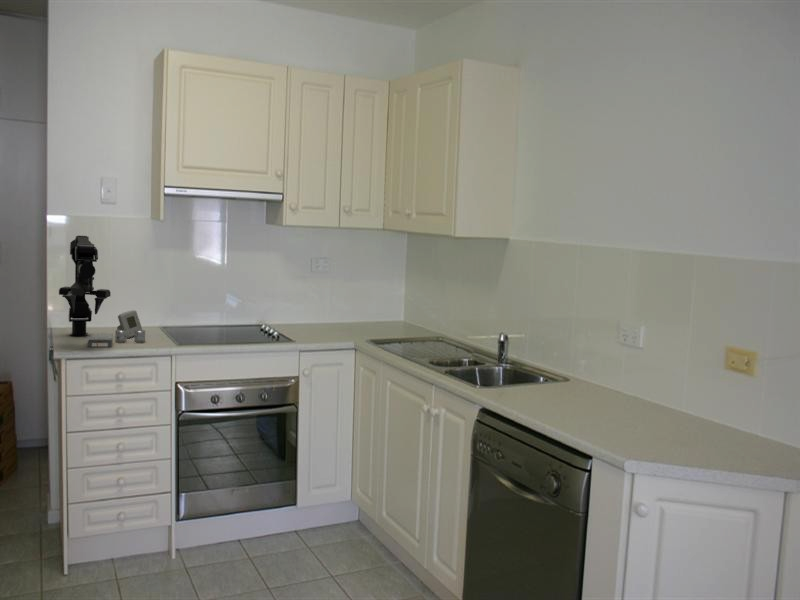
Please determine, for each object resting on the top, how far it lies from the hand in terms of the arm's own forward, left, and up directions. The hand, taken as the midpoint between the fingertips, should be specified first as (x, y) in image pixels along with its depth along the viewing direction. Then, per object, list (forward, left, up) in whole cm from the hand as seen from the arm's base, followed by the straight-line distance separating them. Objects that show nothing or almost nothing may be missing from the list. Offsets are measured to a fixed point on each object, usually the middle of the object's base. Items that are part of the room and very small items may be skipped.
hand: (84, 313), depth 298 cm
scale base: (-3, +6, -14) cm, 15 cm away
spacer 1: (-9, +14, -14) cm, 21 cm away
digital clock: (-25, +17, -14) cm, 34 cm away
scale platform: (-3, +6, -10) cm, 12 cm away
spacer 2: (-9, +21, -14) cm, 27 cm away
